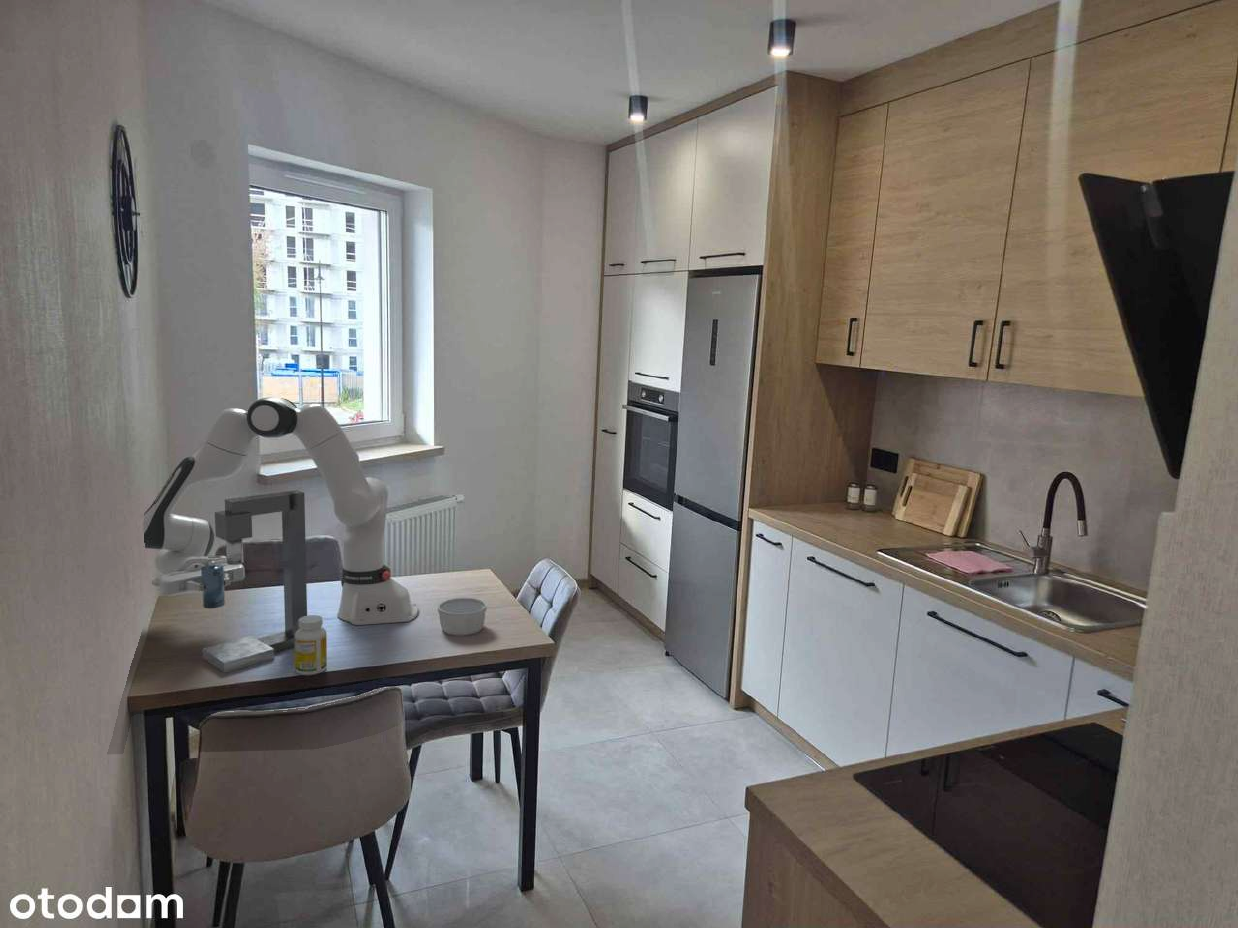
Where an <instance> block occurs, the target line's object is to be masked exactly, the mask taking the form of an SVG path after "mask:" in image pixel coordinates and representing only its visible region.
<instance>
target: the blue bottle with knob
mask: <svg viewBox="0 0 1238 928" xmlns="http://www.w3.org/2000/svg"><path fill="white" fill-rule="evenodd" d="M201 574H202V583H204V588H205V590H203V591H201V592H202V606H203V608H204V609H218V608H222V607H224V606H225V605H226V598H225V595H226V594H225V586H224V569H223V565H215V561H210V562H209V565H207V566H204V567H202V568H201Z"/></svg>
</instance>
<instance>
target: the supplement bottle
mask: <svg viewBox="0 0 1238 928" xmlns="http://www.w3.org/2000/svg"><path fill="white" fill-rule="evenodd" d="M323 624H324V623H323V617H322V616H321V615H316V614H309V615H308V614H307V616H303V617H301V618H300V619H299V620H298V626H299V628H300V629H298V630H297V631H296V633H295V647H294V669H295V672H296V673H297V674H299V675H302V676H312V675H313V676H315V675H317V674H320V673H322V672H324V671H325V670H326V669H327V666H328V665H327V663H328V661H327V660H328V659H327V658H328V656H327V653H328V652H327V642H328V641H327V637H328V636H327V630H326V629H325V628H324V627H323Z"/></svg>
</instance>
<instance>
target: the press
mask: <svg viewBox="0 0 1238 928" xmlns="http://www.w3.org/2000/svg"><path fill="white" fill-rule="evenodd" d="M305 498H306V497H305V492H304V491H300V490H298V489H295V490H287V491H281V492H279V491H278V492H273V493H265V494H263V493H262V494H258V495H255V494H254V495H249V496H248V495H247V496H242V497H234V498H225V499H224V510H220V511H214V525H215V527H214V529H215V531H214V532H215V537H217V538H218V539H221V540H222V541H225V551H226V553H225V554H226V555H225V557H226V558H227V564H228V565H238V564H241V565H243V563H244V546H243V544H244V543H243V540H245V539H248V538H253V521H252V520H253V518H252V517H253V516H260V515H266V514H274V513H280V512H281V525H282V528H281V529H282V530H281V531H282V532H281V533H282V560H283V561H282V562H283V563H282V565H283V567H282V568H283V569H282V570H283V596H284V597H283V598H284V600H283V601H284V602H283V603H284V631H281V632H278V633H274V634H269V635H267V636H263V637H255V636H253V635H249V636H246V637H240V638H238V639H233V640H229V641H226V642H223V643H218V644H215V645H211V646H208V647H203V648H202V659H203V660H205V661H206V662H208V663H209V664H211V665H212V666H214V667H215V668H217V669H218V670H220V671H221V672H223V673H224V674H226V673H229V672H233V671H236V670H239V669H243V668H246V667H249V666H253V665H257V664H260V663H263V662H268V661H270V660H274V659H275V654H277V653H280V652H283V651H287V650H290V649H295V633H296V631H297V630H298V629H300V628H299V626H298V620H299V619H300V618H301V617H303V616H308V597H307V596H308V595H307V593H308V592H307V591H308V590H307V587H308V586H307V560H306V559H307V552H306V551H307V549H306V546H307V545H306V512H305V510H306V509H305V505H306V504H305V500H306V499H305ZM276 652H277V653H276Z"/></svg>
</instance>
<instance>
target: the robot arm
mask: <svg viewBox="0 0 1238 928" xmlns="http://www.w3.org/2000/svg"><path fill="white" fill-rule="evenodd" d="M290 434H291V435H294V436H295V437H297V438H298V439H299V441H300V442H301V443H302V445H303V447H304V448H305V450H306V451H307V453H308V455H309V457H310V458H311V460H312V461H313V463H314V464H315V466H316V468H317V470H318V471H319V472H320V474H321V476H322V479H323V480H324V481H323V482H324V483H325V486H326V488H327V490H328V491H327V492H328V493H329V495H330V498H331V501H332V503H333V509H334V510H333V511H334V514H335V517H336V518H337V519H338V520H339V522H341V523H342V524H343V525H345V528H344V533H343V537H342V567H341V571H340V583H341V589H342V590H341V599H340V603H339V608H338V611H337V614H336V615H337V617H338V618H339V619H341V620H342V621H346V622H349V623H351V624H352V625H353V626H354V625H355V626H361V625H363V626H365V625H378V624H379V625H380V624H390V623H404V622H410V621H412V620H415V618H416V617H417V615H418V614H419V609H420V608H419V605H418V604H417V603H415V602H414V601H411V596H410V592H409V590H408V589H407V588H406V587H405V586H404V585H402V584H401V583H399V582H398V581H396V580H395V579H393V578H392V577H391V576H392V575H391V574H392V573H391V566H390V565H389V566H386V564H384V533H385V527H386V526H385V525H386V517H387V508H388V507H387V505H388V497H389V493H388V488H387V486H386V484H385V483H384V482H383V481H382V480H381V479H378V478H375V477H366V475H365V473H364V471H363V467H362V465H361V463H360V457H359V454H358V453H357V451H356V449H355V448H354V446H353V444H352V443H351V441H350V439H349V438H348V437H347V435H346V433H345V431H344V429H343V428H342V426H341V424H340V423H339V422H338V421H337V420H336V419H335V417H334V416H333V415H332V414H331V413H330V411H329V410H328V409H327V408H326V407H325V406H324V405H322V404H319V403H310V404H306V405H303V406H302V407H297V406H296V404H295V403H294V402H293V401H290V400H289V399H286V398H282V397H276V396H269V397H264V398H263V397H262V398H260V399H257V400H256V401H254V402H253V403H252V404H250V406H249V408H248V409H247V410H244V409H242V408H238V407H237V408H236V407H231V408H225V409H223V411H221V412H220V414H219V415H218V417H217V418H216V420H215V421H214V423H213V424H212V426H211V428H210V430H209V432H208V434H207V436H206V438H205V441H204V443H203V444H202V446H201V447H200V448H199V450H197V451H196V452H195V453H194V454H192V455H191V456H187V457H184V458H183V459H182V460H181V461H180V462H179V464H178V465H177V466H176V467H175V469H174V470H173V472H172V473H171V475H169V478H168V479H167V481H166V482H165V484H164V486H163V487H162V489H161V490H160V491H159V493H158V494H157V496H156V498H155V499H154V500H153V502H152V504H151V505H150V506H149V508H148V509H147V510H145V512H143V514H144V522H143V526H144V527H143V530H144V531H143V532H144V543H145V547H144V548H145V549H150V550H159V552H158V553H157V554H156V556H155V558H154V565H155V569H156V570H157V573H159V574H160V575H158V577H157V578H155V579H154V580H151V585H153V586H155V587H158V588H157V589H158V592H159V593H160V594H162V595H164V596H171V595H176V594H181V593H185V592H189V591H195V592H202V591H203V590H205V588H204V583H202V574H201V568H202V567H204V566H207V565H209V562H210V561H215V565H223V569H224V587H226V586H230V585H231V583H232V582H233V583H234V582H238V581H243V580H244V578H245V575H246V574H245V570H246V569H245V566H244V565H243V564H238V565H228V564H227V556H226V555H214V556H213V555H210V556H208V555H209V553H210V552H211V550H212V548H213V545H214V542H215V541H214V540H215V533H214V532H215V531H214V530H213V527H212V525H211V523H210V522H209V521H208V520H207V519H202V518H198V517H192V516H186V515H181V514H175V513H172V512H173V511H174V510H175V507H176V506H177V504H178V503H179V501H180V499H182V496H183V495H184V493H186V491H187V489H189V488H190V487H192V486H193V485H196V484H199V483H204V482H209V481H210V482H211V481H219V480H224V479H228V478H231V477H233V476H235V475H236V474H238V473H239V472H240V471H241V469H242V468H243V465H244V464H245V462H246V460H247V458H248V455H249V453H250V450H251V449H252V448H251V447H252V445H253V443H254V442H255V440H256V439H257V438H258V437H262V438H268V439H269V438H275V439H276V438H281V437H285V436H287V435H290Z"/></svg>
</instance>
